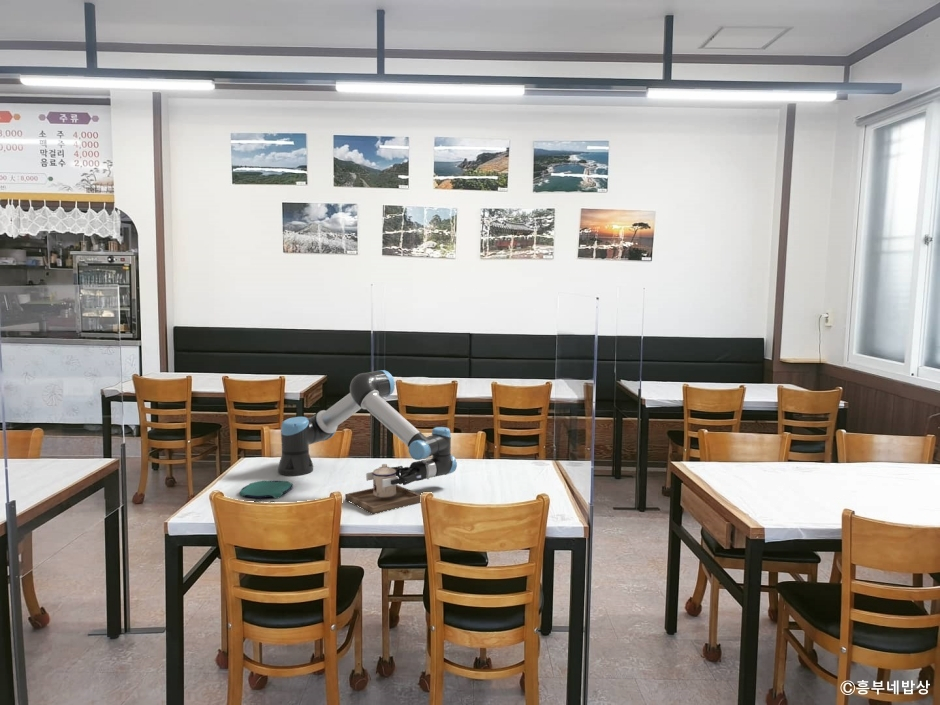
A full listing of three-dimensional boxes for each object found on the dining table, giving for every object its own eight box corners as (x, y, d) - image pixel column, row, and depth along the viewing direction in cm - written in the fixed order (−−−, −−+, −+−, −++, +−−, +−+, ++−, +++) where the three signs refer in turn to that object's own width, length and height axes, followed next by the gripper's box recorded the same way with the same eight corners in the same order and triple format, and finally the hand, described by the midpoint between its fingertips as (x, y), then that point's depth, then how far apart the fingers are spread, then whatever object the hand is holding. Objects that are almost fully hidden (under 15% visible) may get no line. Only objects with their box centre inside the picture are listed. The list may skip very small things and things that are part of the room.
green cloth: (299, 485, 265) (299, 480, 264) (271, 511, 235) (271, 505, 235) (253, 484, 266) (253, 479, 266) (219, 510, 237) (218, 504, 236)
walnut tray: (345, 500, 245) (345, 494, 245) (393, 489, 259) (393, 483, 259) (372, 514, 230) (372, 507, 230) (422, 501, 244) (422, 495, 244)
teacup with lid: (373, 490, 250) (373, 461, 249) (397, 490, 250) (397, 461, 249) (370, 500, 238) (370, 469, 237) (395, 500, 238) (395, 469, 237)
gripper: (439, 485, 247) (391, 497, 233) (405, 473, 264) (359, 483, 250) (439, 466, 246) (391, 477, 232) (405, 455, 264) (358, 464, 250)
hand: (374, 480), depth 241 cm, fingers closed on teacup with lid, 10 cm apart
